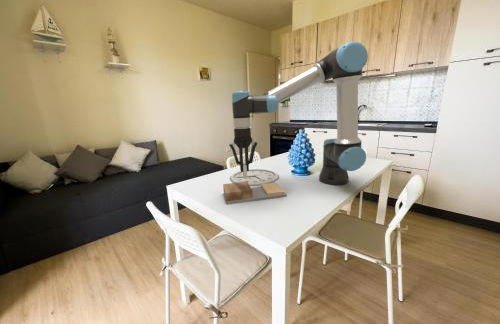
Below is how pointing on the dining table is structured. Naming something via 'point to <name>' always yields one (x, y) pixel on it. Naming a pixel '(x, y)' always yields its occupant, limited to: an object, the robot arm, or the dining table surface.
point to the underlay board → (263, 193)
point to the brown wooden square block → (237, 191)
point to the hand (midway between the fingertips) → (245, 177)
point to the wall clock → (255, 177)
